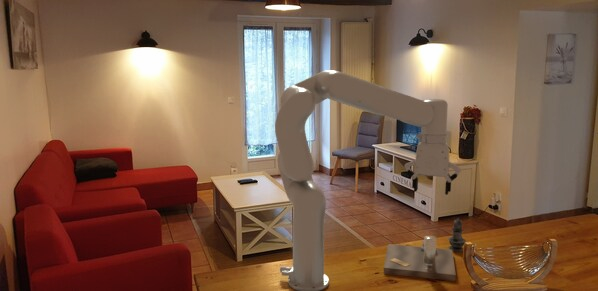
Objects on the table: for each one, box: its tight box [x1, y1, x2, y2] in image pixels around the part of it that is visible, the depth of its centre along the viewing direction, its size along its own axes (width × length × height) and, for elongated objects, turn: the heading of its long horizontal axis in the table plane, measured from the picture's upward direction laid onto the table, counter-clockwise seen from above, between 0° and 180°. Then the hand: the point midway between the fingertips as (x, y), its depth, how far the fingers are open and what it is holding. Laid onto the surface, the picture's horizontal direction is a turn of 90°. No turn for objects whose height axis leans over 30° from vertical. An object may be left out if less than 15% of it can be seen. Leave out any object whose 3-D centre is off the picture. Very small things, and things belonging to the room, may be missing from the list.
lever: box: [422, 235, 437, 266], centre depth 157 cm, size 20×4×9 cm, turn 166°
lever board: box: [383, 243, 457, 282], centre depth 159 cm, size 22×20×3 cm
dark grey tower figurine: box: [448, 217, 466, 253], centre depth 170 cm, size 6×6×12 cm
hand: (431, 192), depth 150 cm, fingers open, 9 cm apart
